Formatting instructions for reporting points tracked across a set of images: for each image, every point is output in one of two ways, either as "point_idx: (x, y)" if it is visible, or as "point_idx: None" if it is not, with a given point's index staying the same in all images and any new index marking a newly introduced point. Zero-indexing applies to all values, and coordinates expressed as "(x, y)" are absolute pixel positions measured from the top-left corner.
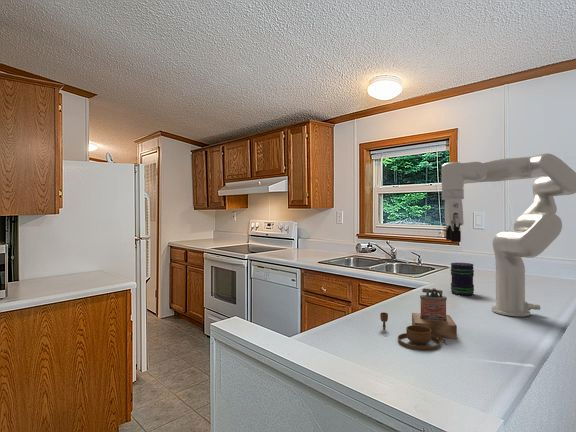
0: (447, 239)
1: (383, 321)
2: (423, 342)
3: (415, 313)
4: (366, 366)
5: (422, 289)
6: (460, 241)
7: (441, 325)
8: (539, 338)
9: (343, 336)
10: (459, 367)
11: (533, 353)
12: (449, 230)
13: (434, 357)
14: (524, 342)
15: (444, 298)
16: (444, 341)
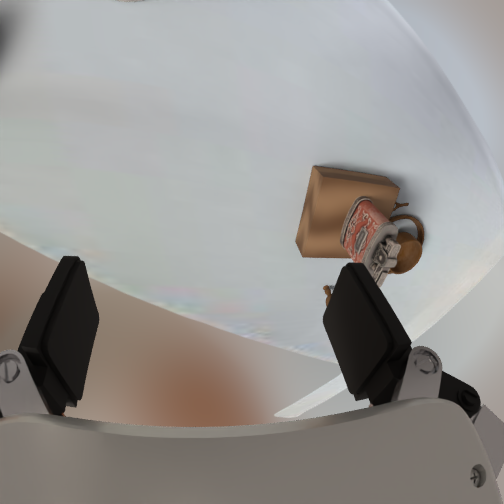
0: (98, 316)
1: None
2: (412, 243)
3: (308, 250)
4: (435, 298)
5: (379, 286)
6: (360, 263)
7: (390, 214)
8: (381, 7)
9: None
10: (464, 212)
11: (447, 81)
12: (69, 385)
13: (438, 232)
14: (405, 55)
15: (396, 230)
16: (395, 203)
